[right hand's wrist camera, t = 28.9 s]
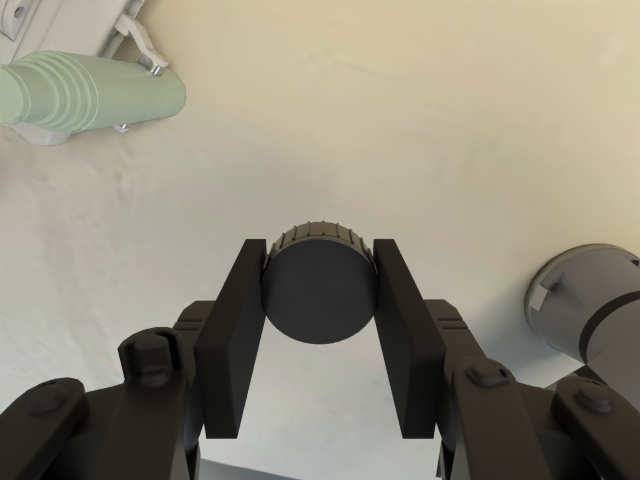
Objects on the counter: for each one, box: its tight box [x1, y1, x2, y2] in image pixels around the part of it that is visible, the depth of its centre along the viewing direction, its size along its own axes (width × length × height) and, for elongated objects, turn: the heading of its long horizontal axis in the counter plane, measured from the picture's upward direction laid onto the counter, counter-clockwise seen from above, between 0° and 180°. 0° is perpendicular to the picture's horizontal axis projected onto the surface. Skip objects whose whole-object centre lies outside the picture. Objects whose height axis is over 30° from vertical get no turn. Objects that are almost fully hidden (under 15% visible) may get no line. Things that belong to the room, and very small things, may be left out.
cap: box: [260, 221, 380, 344], centre depth 14 cm, size 4×4×2 cm
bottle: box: [0, 50, 186, 133], centre depth 31 cm, size 5×5×23 cm
